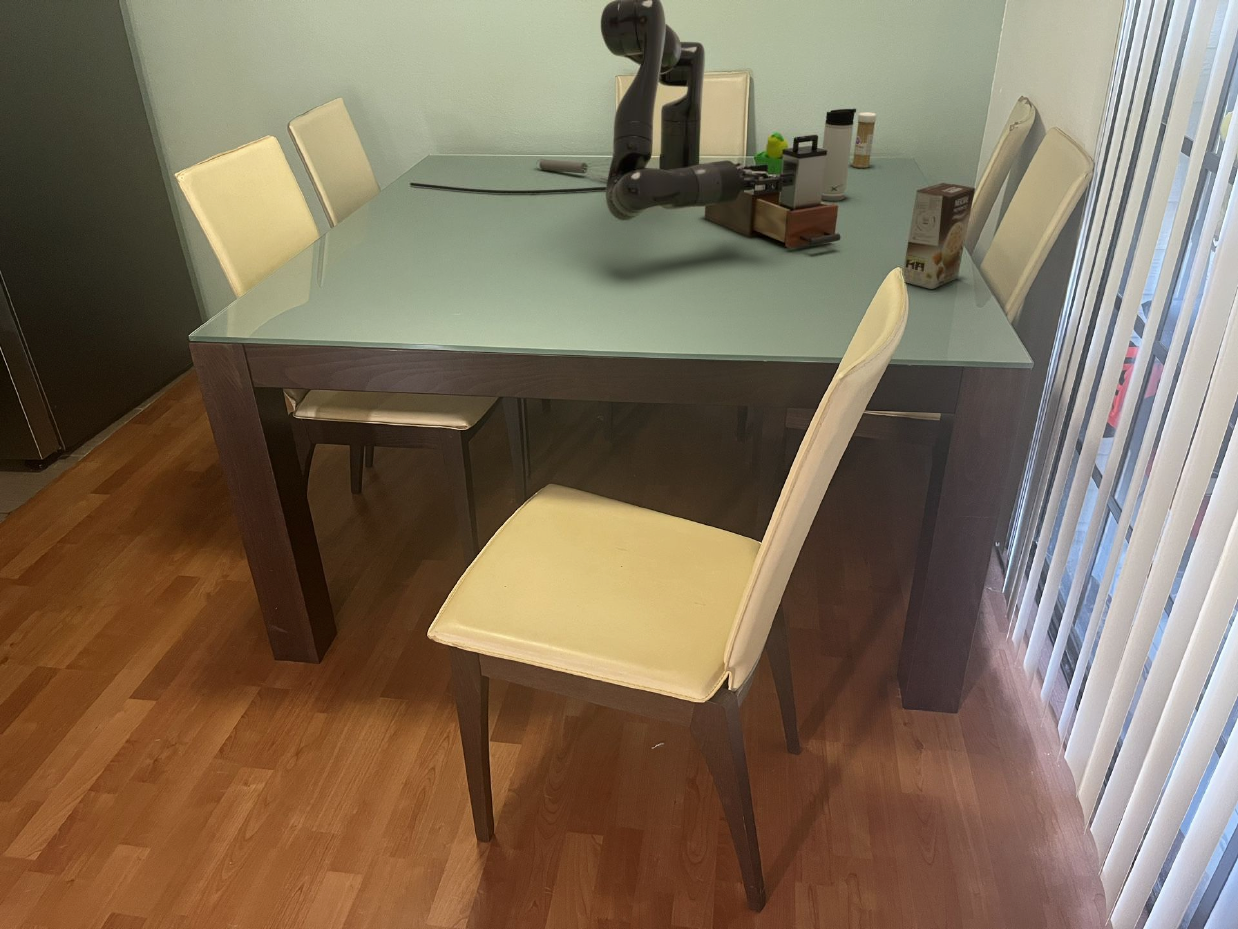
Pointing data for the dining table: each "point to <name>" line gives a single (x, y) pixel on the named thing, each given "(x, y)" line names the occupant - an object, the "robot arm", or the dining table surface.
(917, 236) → the coffee box
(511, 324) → the dining table surface
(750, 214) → the cabinet
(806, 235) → the drawer
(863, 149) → the sprinkles bottle
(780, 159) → the fruit basket
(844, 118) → the travel mug
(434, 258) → the dining table surface
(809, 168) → the grater
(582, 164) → the kitchen whisk
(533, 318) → the dining table surface
